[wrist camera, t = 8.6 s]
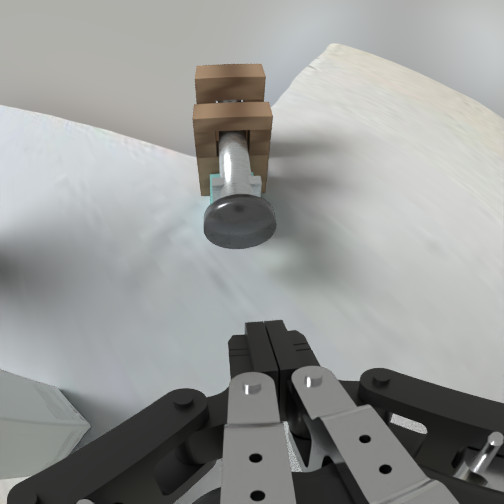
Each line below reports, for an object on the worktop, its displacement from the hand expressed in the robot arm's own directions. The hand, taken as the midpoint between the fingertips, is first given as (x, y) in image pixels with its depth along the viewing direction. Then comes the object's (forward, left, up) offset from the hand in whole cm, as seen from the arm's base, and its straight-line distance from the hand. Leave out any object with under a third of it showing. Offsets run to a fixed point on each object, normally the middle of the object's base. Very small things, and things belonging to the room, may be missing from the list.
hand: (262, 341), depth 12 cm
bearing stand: (0, +29, -17) cm, 33 cm away
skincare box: (-20, -5, -17) cm, 27 cm away
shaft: (0, +22, -16) cm, 27 cm away
